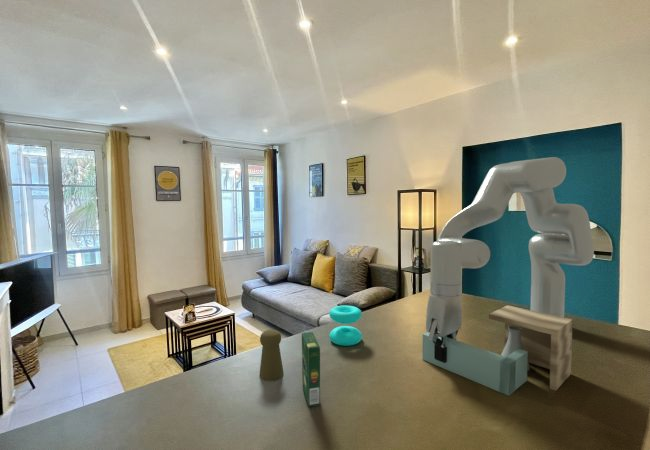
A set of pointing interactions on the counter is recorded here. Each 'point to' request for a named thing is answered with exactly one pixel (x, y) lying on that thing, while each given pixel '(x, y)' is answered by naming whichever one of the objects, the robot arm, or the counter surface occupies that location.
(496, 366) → the block
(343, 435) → the counter surface
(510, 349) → the flask
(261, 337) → the olive pawn
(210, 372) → the counter surface
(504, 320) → the wooden corner bracket
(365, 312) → the counter surface
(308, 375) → the coffee box
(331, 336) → the donuts
